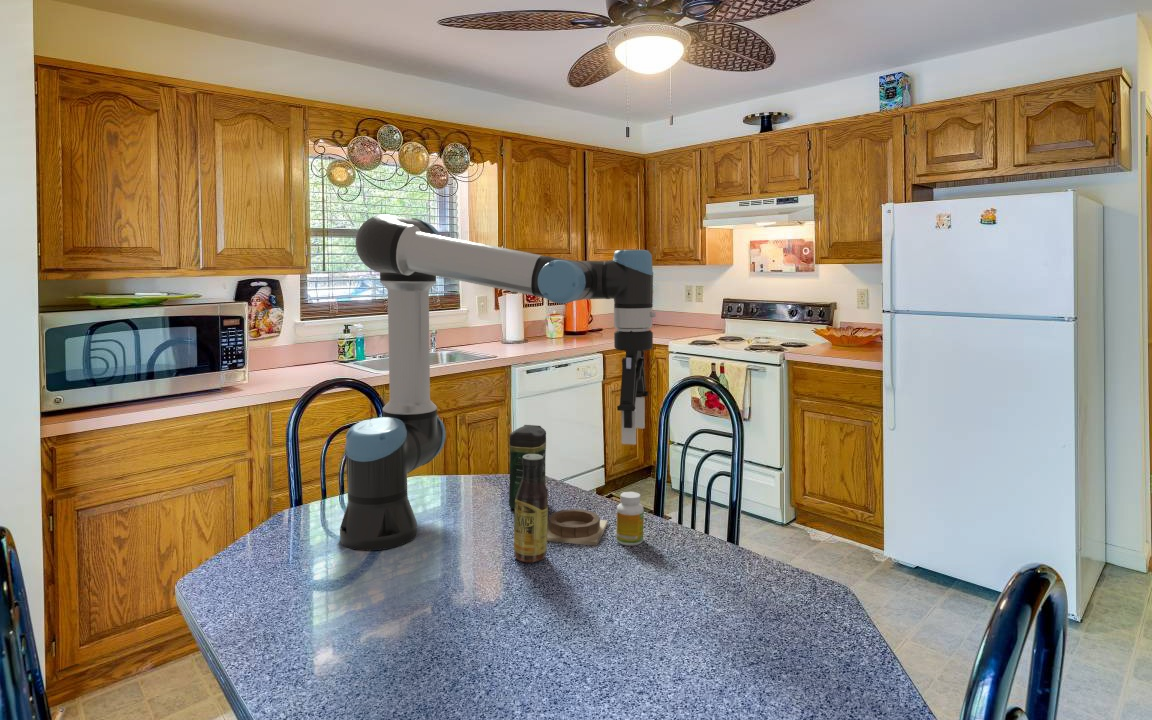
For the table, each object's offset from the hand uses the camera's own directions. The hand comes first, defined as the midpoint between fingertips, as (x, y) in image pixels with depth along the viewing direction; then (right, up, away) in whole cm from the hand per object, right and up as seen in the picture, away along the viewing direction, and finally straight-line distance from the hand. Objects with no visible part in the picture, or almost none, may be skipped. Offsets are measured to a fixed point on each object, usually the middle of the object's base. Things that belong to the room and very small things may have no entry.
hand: (633, 435), depth 137 cm
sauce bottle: (-20, -23, -7) cm, 31 cm away
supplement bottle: (-1, -22, +1) cm, 22 cm away
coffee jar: (-23, -19, +22) cm, 37 cm away
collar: (-12, -21, +6) cm, 25 cm away
